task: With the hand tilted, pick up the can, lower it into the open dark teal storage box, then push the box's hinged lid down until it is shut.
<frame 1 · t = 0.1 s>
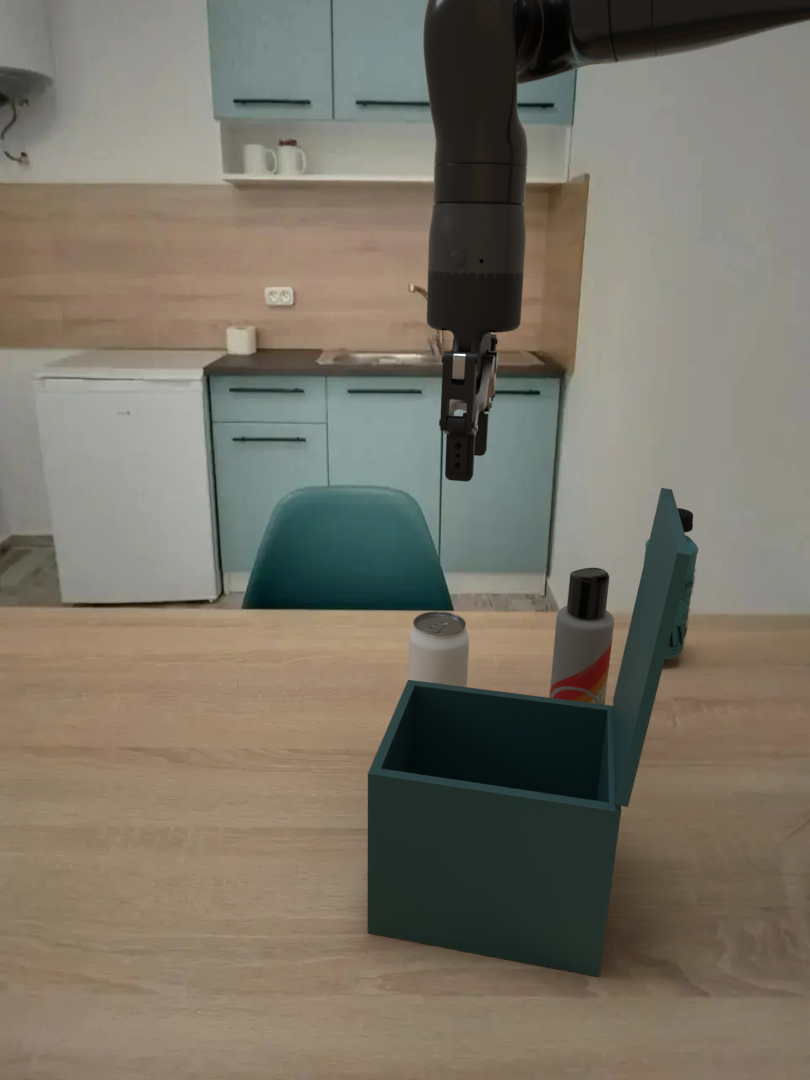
hand: (466, 466, 71), 32 cm above the table, tool pointing down, fingers open, 8 cm apart
can: (436, 720, 93), on the table
lotion bottle: (572, 744, 89), on the table
dark teal storage box: (490, 889, 69), on the table
lid: (645, 639, 58), point 24 cm above the table, hinge at 95.0°
beverage bottle: (655, 659, 107), on the table
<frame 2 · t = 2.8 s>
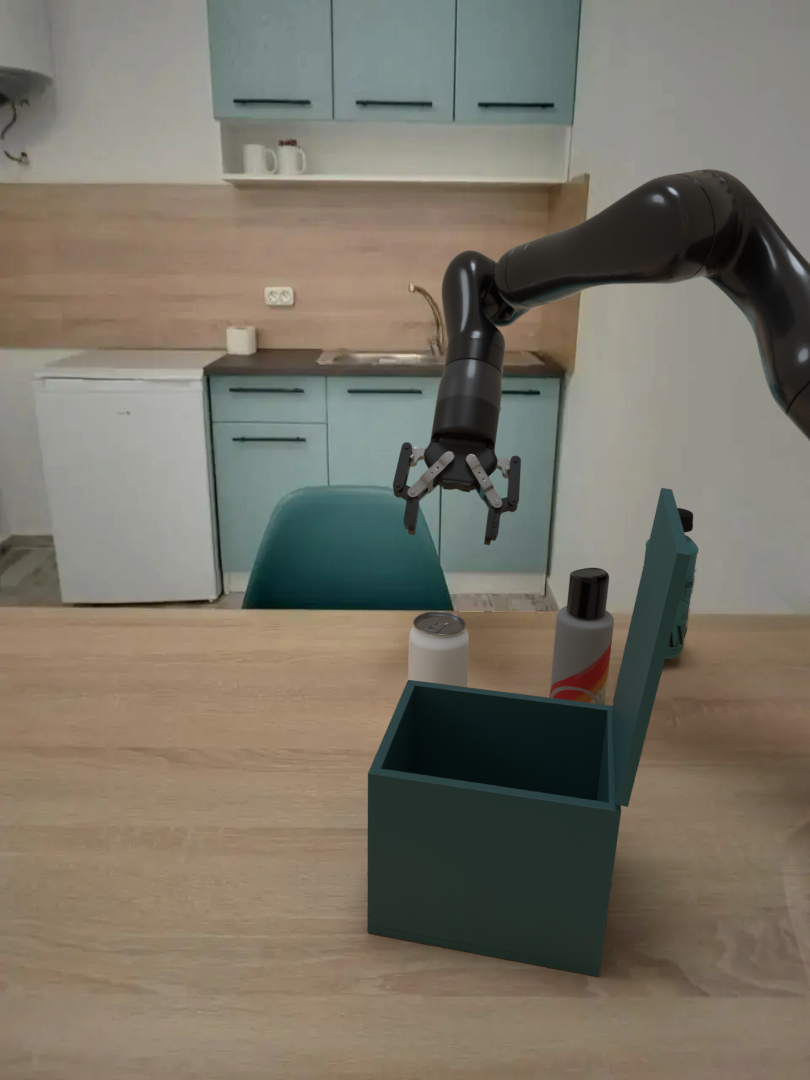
hand: (449, 537, 92), 19 cm above the table, tool tilted 40°, fingers open, 8 cm apart
nothing on the table moved.
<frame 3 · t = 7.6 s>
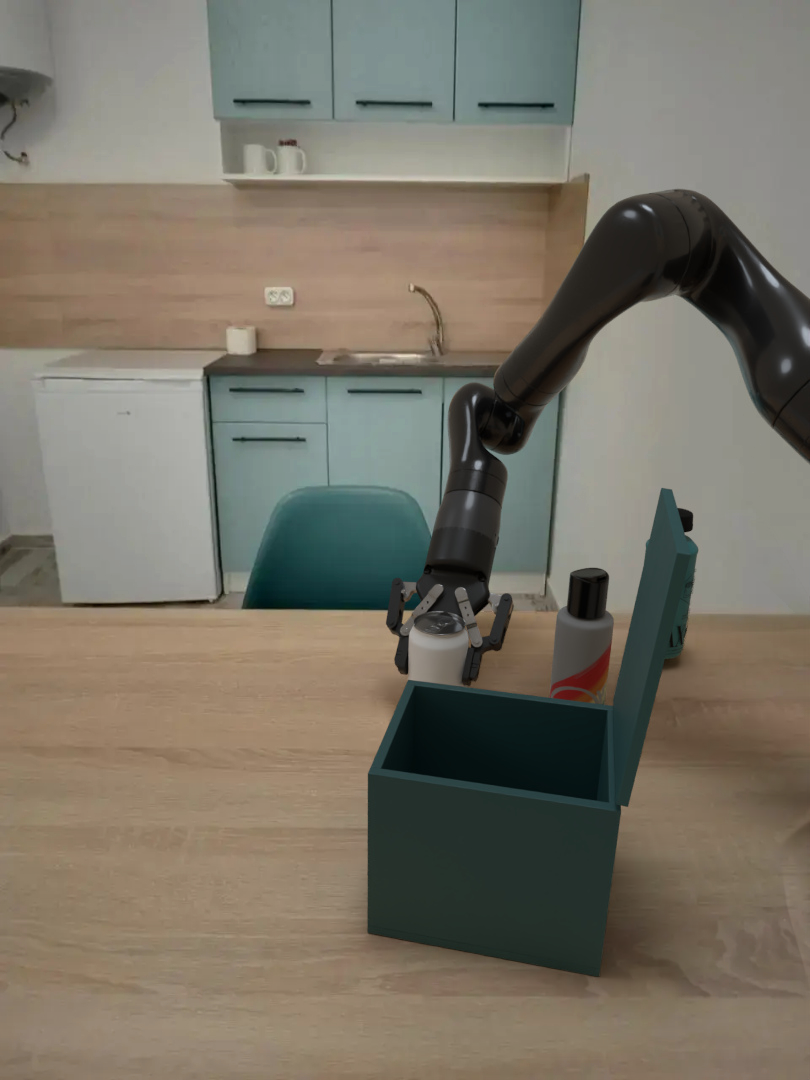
hand: (434, 677, 89), 6 cm above the table, tool tilted 45°, fingers closed on can, 6 cm apart
can: (436, 720, 93), on the table, touching gripper
everything else where it was.
when the fingers open (8 cm above the table, at t = 21.4 s): can stays where it is, resting on dark teal storage box.
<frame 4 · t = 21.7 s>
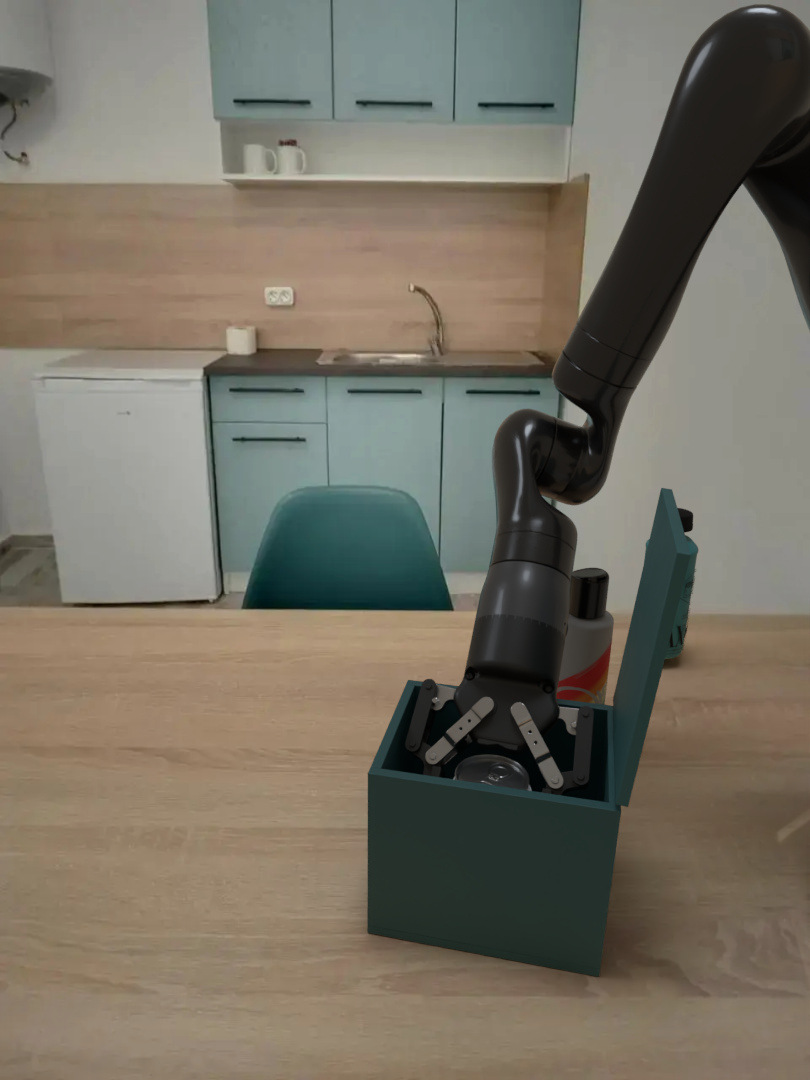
hand: (483, 830, 62), 9 cm above the table, tool tilted 45°, fingers open, 8 cm apart
can: (483, 902, 66), point 1 cm above the table, touching dark teal storage box
everything else where it was.
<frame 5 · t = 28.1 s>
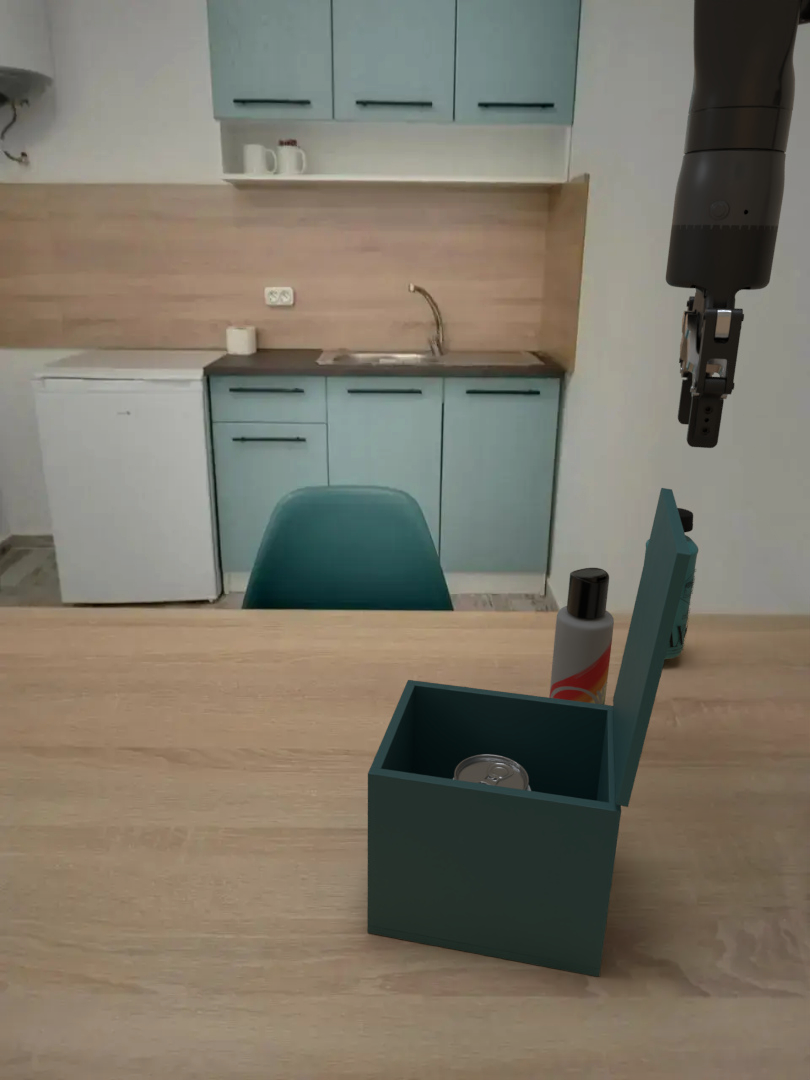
hand: (695, 434, 67), 36 cm above the table, tool pointing down, fingers open, 8 cm apart
nothing on the table moved.
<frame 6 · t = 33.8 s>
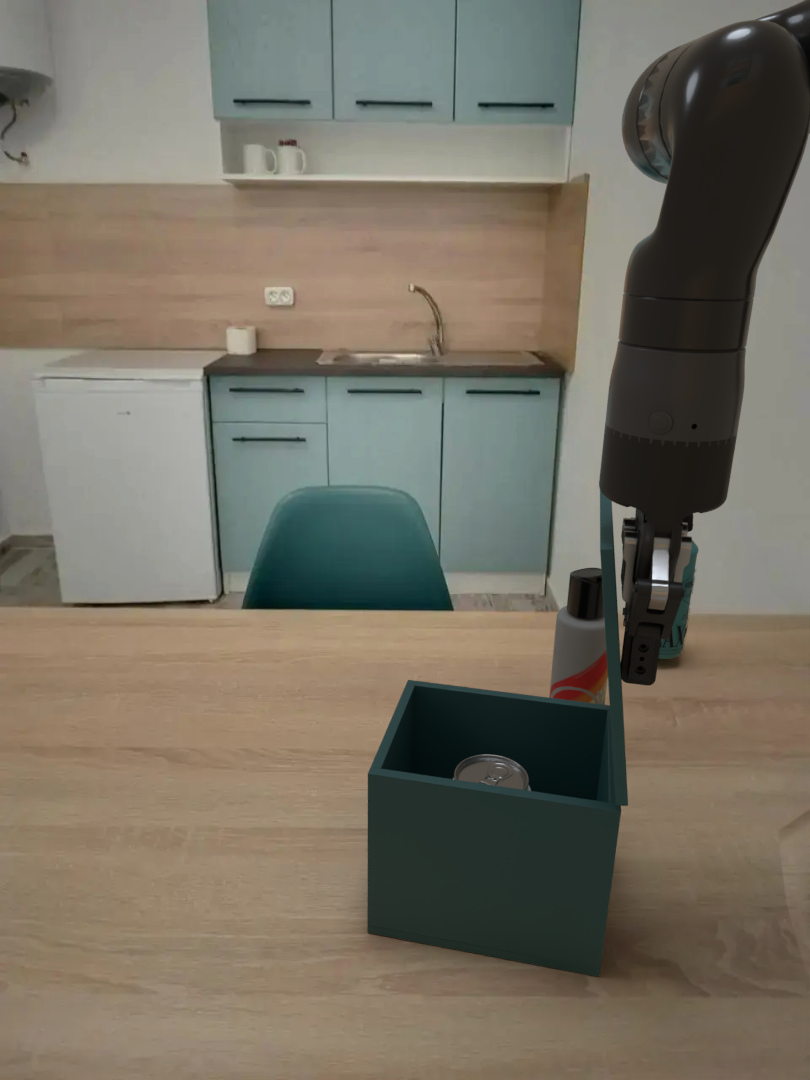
hand: (636, 678, 55), 23 cm above the table, tool pointing down, fingers closed
lid: (613, 636, 59), point 24 cm above the table, hinge at 81.2°, touching gripper
everything else where it was.
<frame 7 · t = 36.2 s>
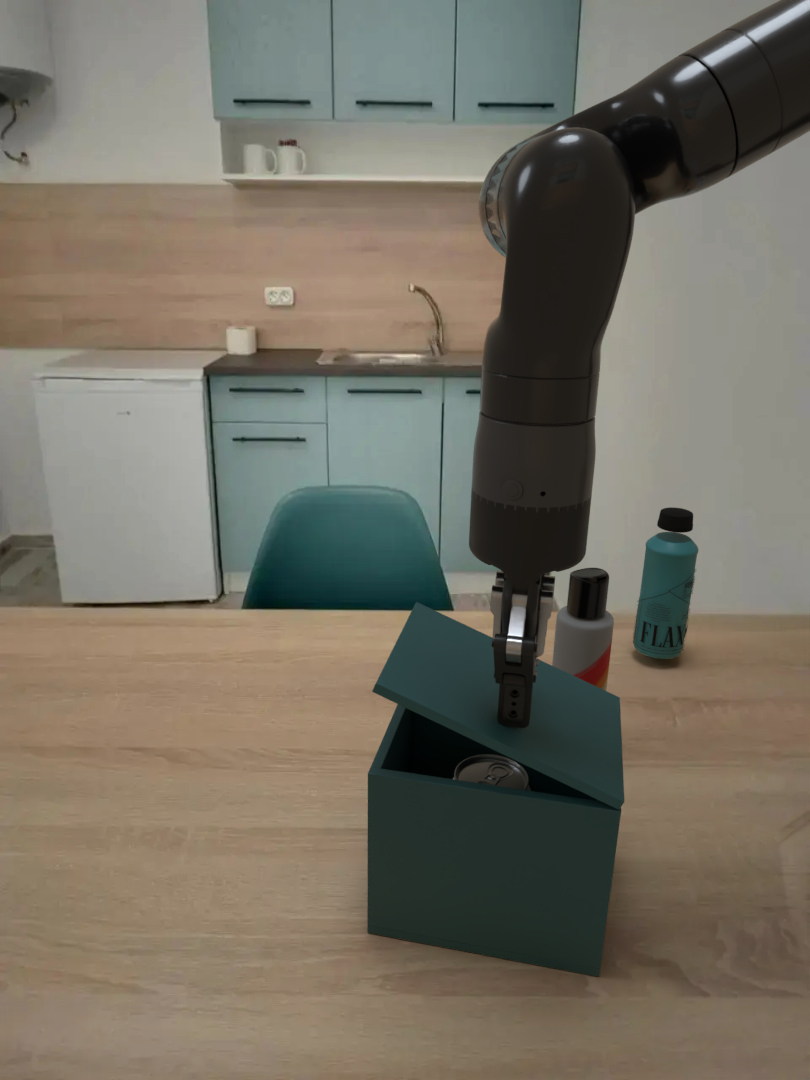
hand: (513, 720, 58), 19 cm above the table, tool pointing down, fingers closed
lid: (507, 694, 62), point 19 cm above the table, hinge at 21.0°, touching gripper
everything else where it was.
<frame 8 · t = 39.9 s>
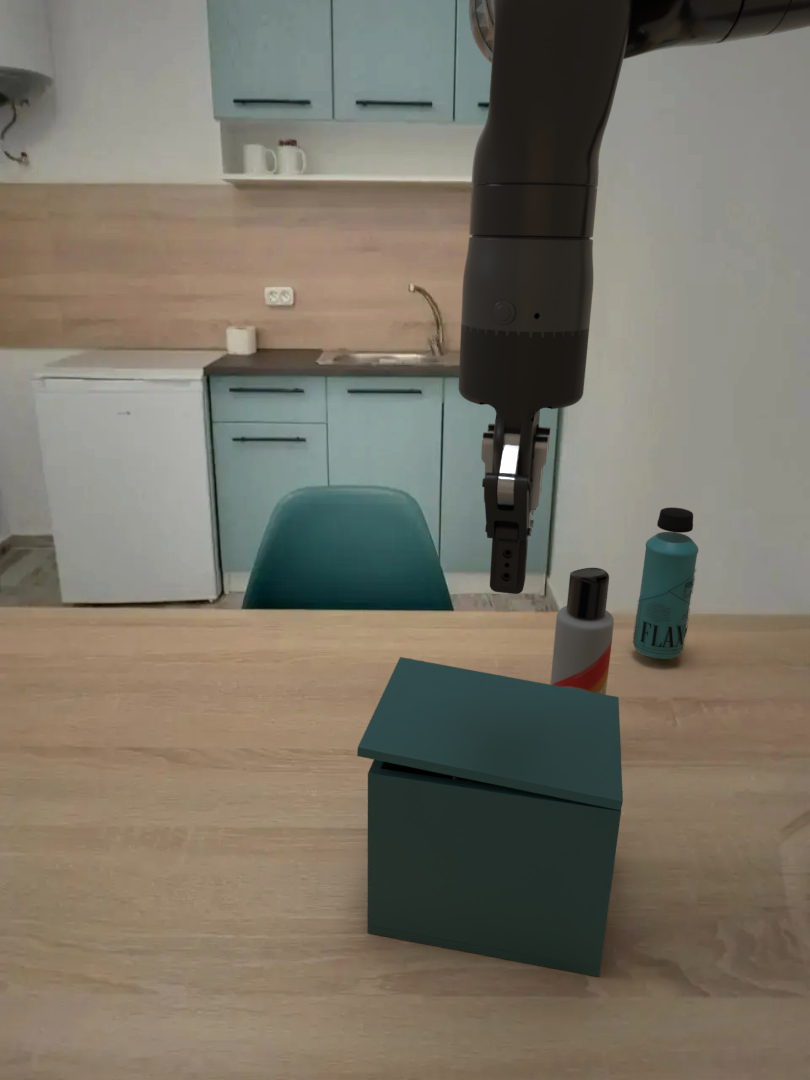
hand: (507, 588, 55), 29 cm above the table, tool pointing down, fingers closed
lid: (497, 724, 63), point 16 cm above the table, hinge at 3.9°
everything else where it was.
at the end: can inside the target area in the dark teal storage box (2.3 cm from its centre), point 0.6 cm above the dark teal storage box's base; lid at +4° (first picture: +95°) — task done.
